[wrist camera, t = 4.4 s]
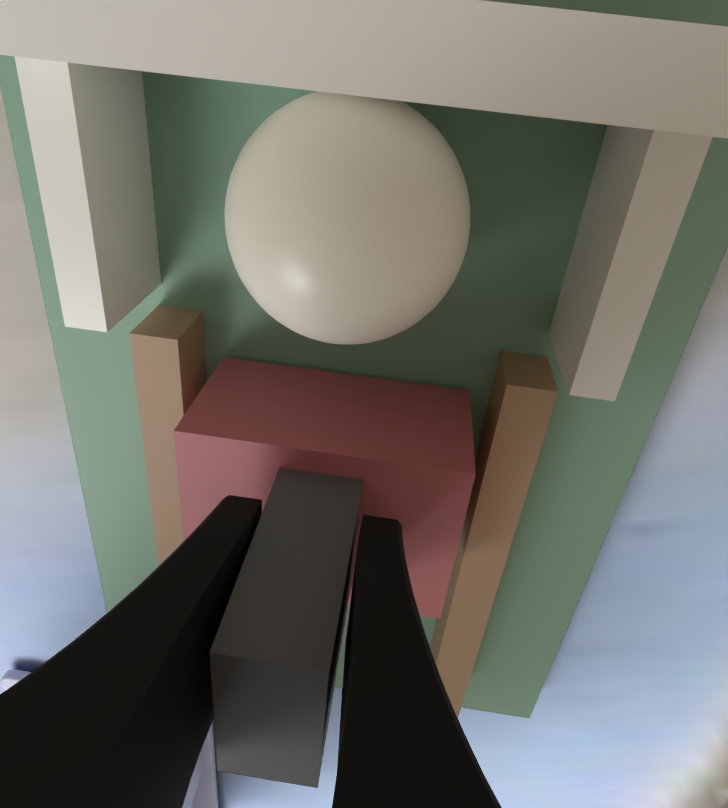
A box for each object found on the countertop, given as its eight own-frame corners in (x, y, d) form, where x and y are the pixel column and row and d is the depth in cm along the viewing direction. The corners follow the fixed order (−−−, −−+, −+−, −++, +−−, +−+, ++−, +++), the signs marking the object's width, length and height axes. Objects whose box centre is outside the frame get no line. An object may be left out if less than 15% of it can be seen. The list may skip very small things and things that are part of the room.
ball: (497, 182, 7) (493, 63, 10) (166, 142, 7) (251, 36, 10) (444, 409, 10) (452, 270, 13) (209, 376, 10) (265, 246, 13)
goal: (586, 339, 13) (647, 471, 9) (125, 279, 13) (-4, 380, 9) (683, 36, 10) (837, 38, 6) (88, -29, 10) (-122, -64, 6)
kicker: (441, 523, 16) (439, 824, 10) (228, 491, 16) (99, 766, 10) (469, 390, 13) (489, 672, 8) (223, 356, 14) (55, 604, 8)
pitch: (526, 695, 20) (535, 765, 19) (125, 631, 21) (93, 692, 19) (813, -23, 10) (905, -37, 8) (-10, -108, 11) (-113, -139, 9)
